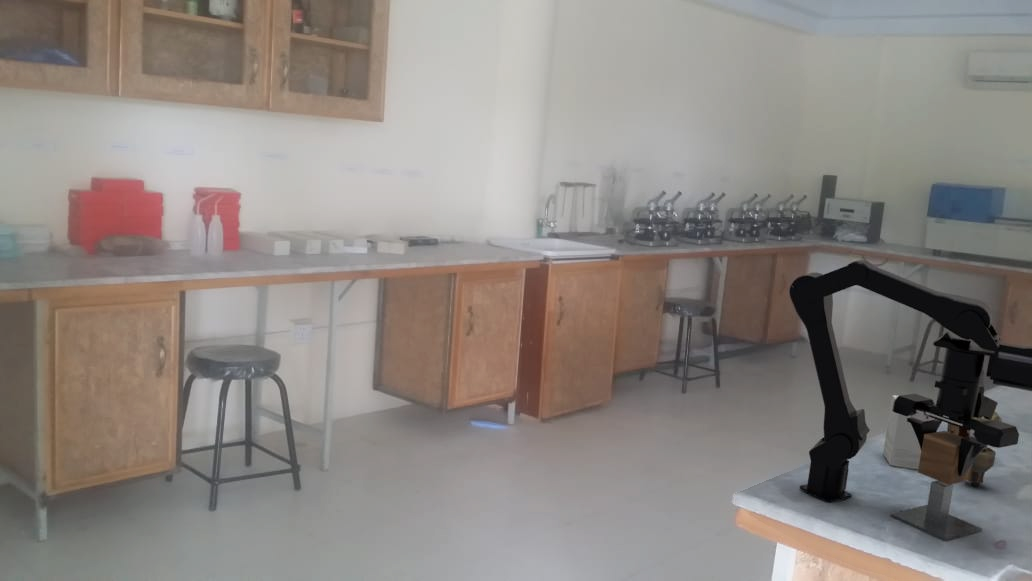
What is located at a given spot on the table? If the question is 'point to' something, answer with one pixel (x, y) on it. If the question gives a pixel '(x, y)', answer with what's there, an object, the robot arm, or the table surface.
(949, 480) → the cardboard carton
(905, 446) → the supplement box
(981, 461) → the light bulb
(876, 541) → the table surface
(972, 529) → the gray square base stand
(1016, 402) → the table surface
